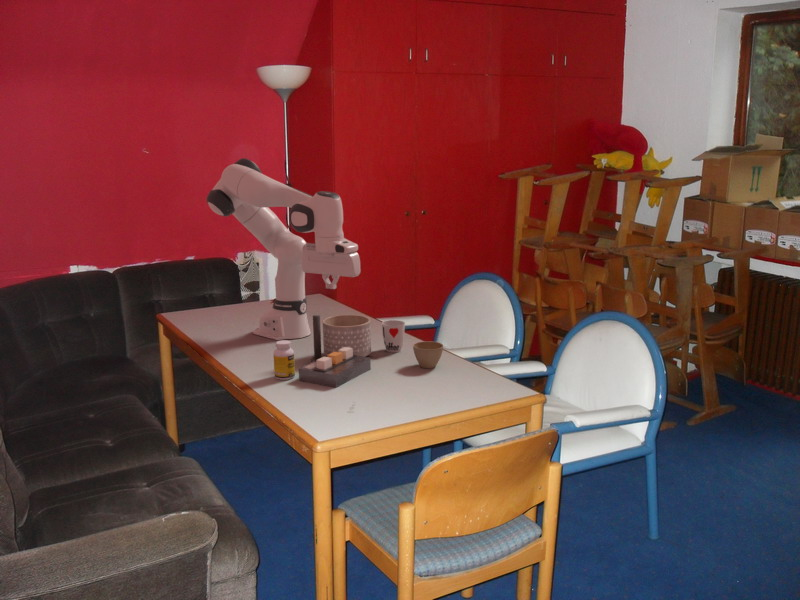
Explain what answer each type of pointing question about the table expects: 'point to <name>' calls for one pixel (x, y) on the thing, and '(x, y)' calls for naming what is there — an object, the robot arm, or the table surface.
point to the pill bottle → (284, 360)
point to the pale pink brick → (346, 352)
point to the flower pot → (428, 353)
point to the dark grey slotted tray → (335, 371)
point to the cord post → (316, 338)
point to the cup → (393, 335)
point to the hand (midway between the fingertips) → (331, 288)
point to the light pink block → (324, 363)
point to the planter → (347, 334)
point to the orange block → (336, 357)
